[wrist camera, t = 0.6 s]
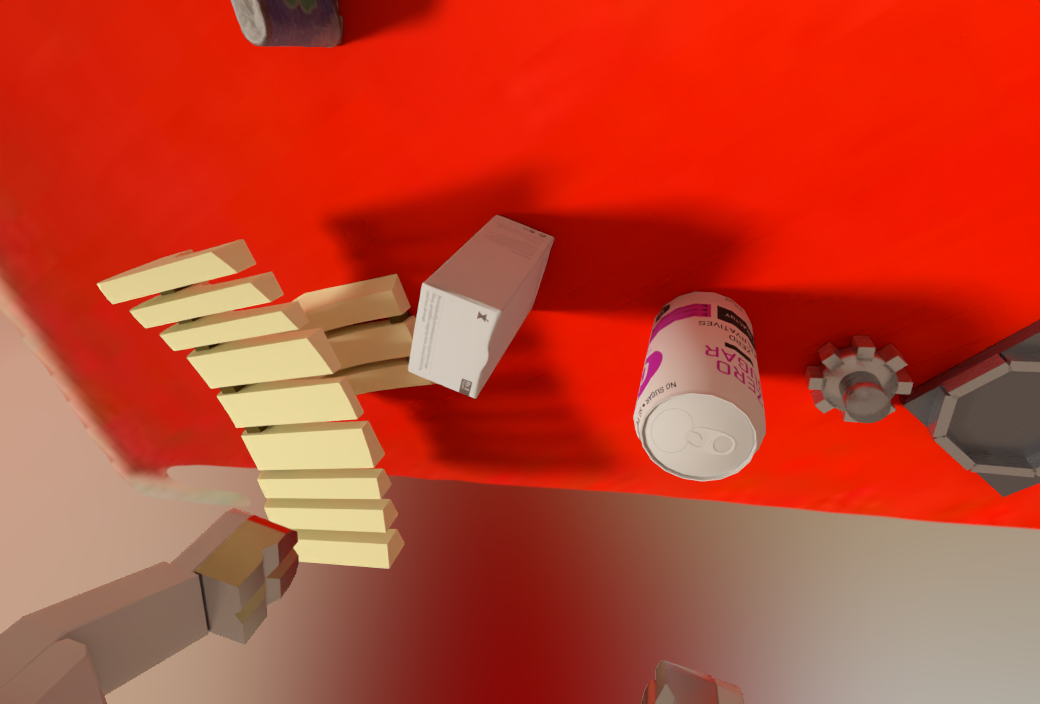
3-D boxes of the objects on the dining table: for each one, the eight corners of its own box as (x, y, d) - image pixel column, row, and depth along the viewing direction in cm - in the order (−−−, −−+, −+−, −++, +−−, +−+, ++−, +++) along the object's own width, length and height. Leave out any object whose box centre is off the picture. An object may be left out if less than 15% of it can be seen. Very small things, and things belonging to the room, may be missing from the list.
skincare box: (497, 212, 45) (417, 272, 33) (560, 237, 44) (502, 308, 32) (476, 292, 50) (400, 371, 38) (533, 316, 49) (474, 404, 37)
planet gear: (864, 319, 40) (881, 349, 36) (925, 375, 41) (949, 412, 36) (786, 370, 44) (794, 403, 40) (843, 421, 45) (856, 459, 40)
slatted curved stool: (246, 226, 55) (76, 290, 40) (362, 190, 48) (211, 251, 34) (361, 447, 67) (264, 558, 52) (467, 443, 60) (389, 568, 46)
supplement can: (644, 360, 48) (620, 468, 35) (664, 279, 43) (646, 370, 31) (734, 381, 46) (742, 502, 34) (765, 299, 42) (788, 404, 29)
